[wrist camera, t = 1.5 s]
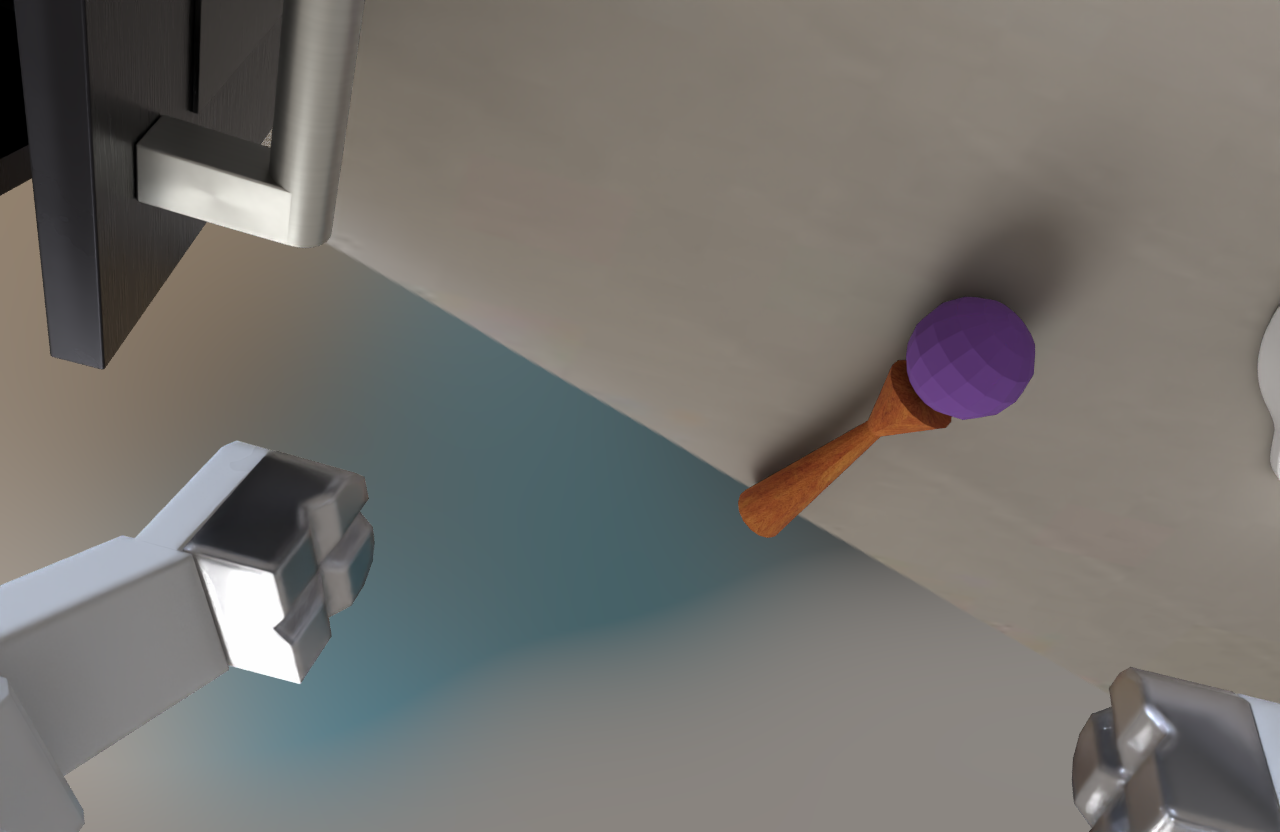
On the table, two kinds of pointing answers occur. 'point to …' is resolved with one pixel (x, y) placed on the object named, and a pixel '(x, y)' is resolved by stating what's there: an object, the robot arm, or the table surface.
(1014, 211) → the table surface
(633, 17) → the table surface
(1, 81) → the oven
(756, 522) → the kendama
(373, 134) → the table surface
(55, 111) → the oven door
